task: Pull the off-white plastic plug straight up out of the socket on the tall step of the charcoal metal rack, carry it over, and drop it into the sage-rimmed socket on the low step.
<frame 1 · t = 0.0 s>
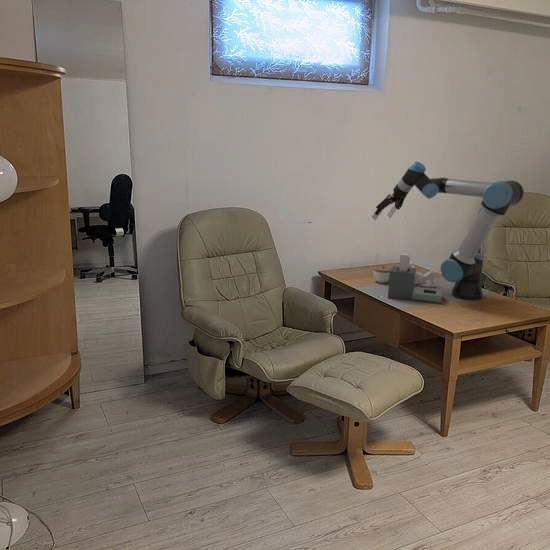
hand: (381, 217, 296), 36 cm above the table, tool tilted 35°, fingers open, 13 cm apart
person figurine: (416, 286, 298), on the table
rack: (415, 297, 276), on the table
lidded jar: (382, 282, 304), on the table
plug: (402, 275, 275), point 11 cm above the table, touching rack
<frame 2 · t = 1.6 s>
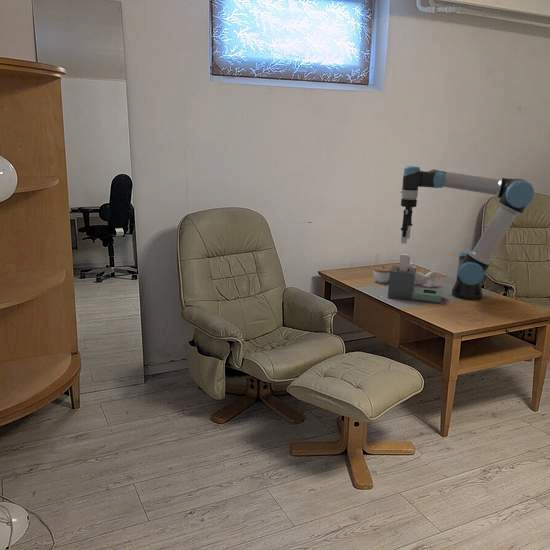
hand: (405, 241, 271), 29 cm above the table, tool pointing down, fingers open, 13 cm apart
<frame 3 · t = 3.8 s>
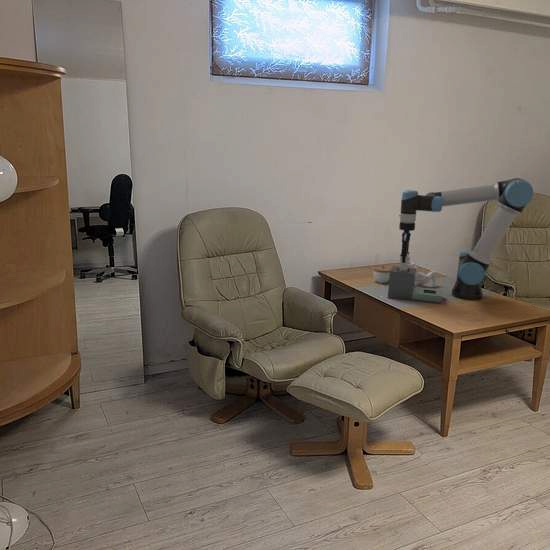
hand: (403, 267, 274), 15 cm above the table, tool pointing down, fingers closed on plug, 4 cm apart
plug: (402, 275, 275), point 11 cm above the table, touching gripper
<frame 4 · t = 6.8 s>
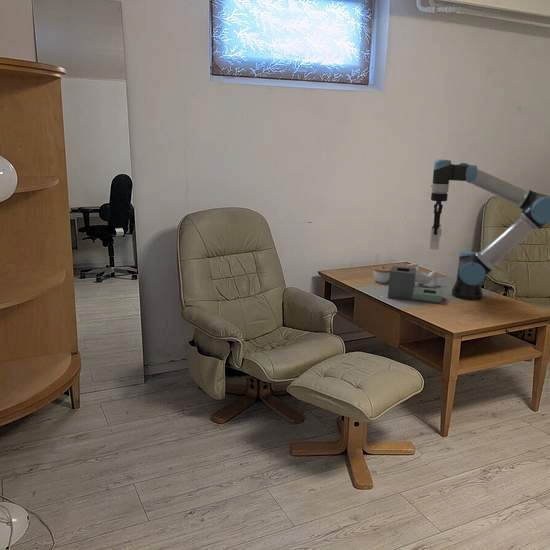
hand: (435, 240, 265), 30 cm above the table, tool pointing down, fingers closed on plug, 4 cm apart
plug: (434, 248, 267), point 26 cm above the table, touching gripper
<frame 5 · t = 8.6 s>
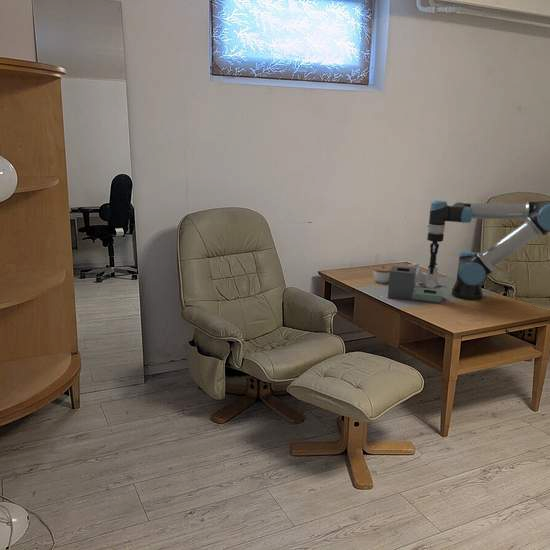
hand: (431, 278, 271), 11 cm above the table, tool pointing down, fingers closed on plug, 4 cm apart
plug: (430, 286, 272), point 7 cm above the table, touching gripper
when the fingers open (6 cm above the table, at t = 10.0 s): plug stays where it is, resting on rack.
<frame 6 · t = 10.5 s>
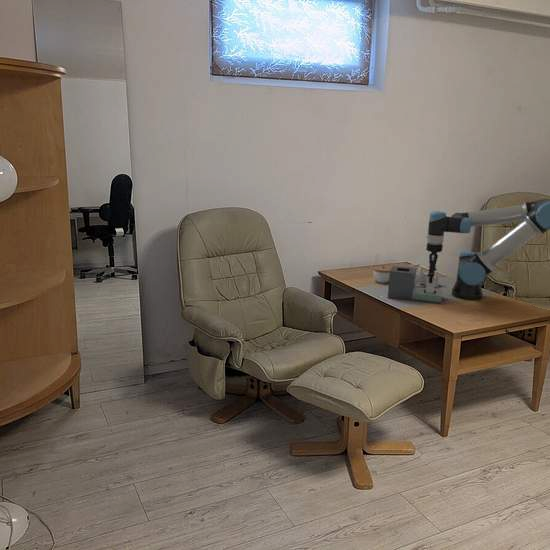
hand: (430, 286, 272), 7 cm above the table, tool pointing down, fingers open, 11 cm apart
plug: (429, 297, 273), point 1 cm above the table, touching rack
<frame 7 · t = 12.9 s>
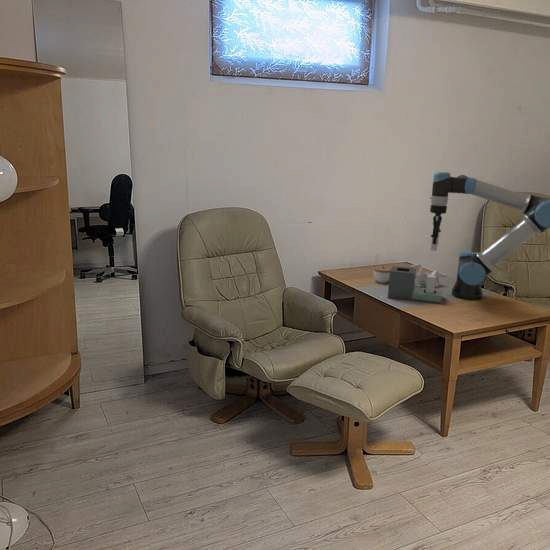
hand: (434, 247, 266), 27 cm above the table, tool pointing down, fingers open, 13 cm apart
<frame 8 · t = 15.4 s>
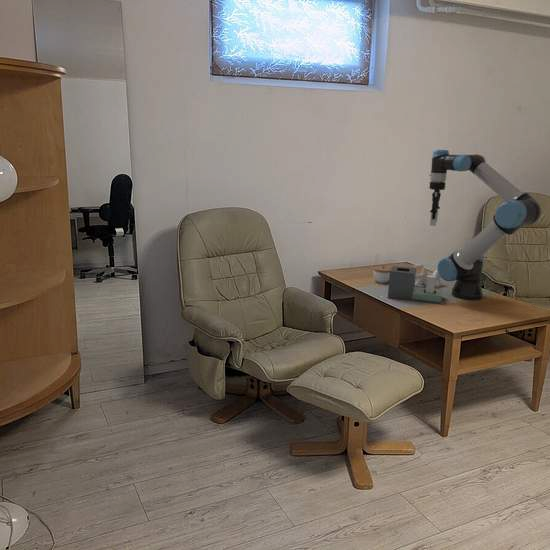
hand: (433, 223, 275), 37 cm above the table, tool pointing down, fingers open, 13 cm apart
at the end: plug 0.1 cm from the target spot on the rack, point 1.0 cm above the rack's base; plug tilted 0°; the gripper is holding nothing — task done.
